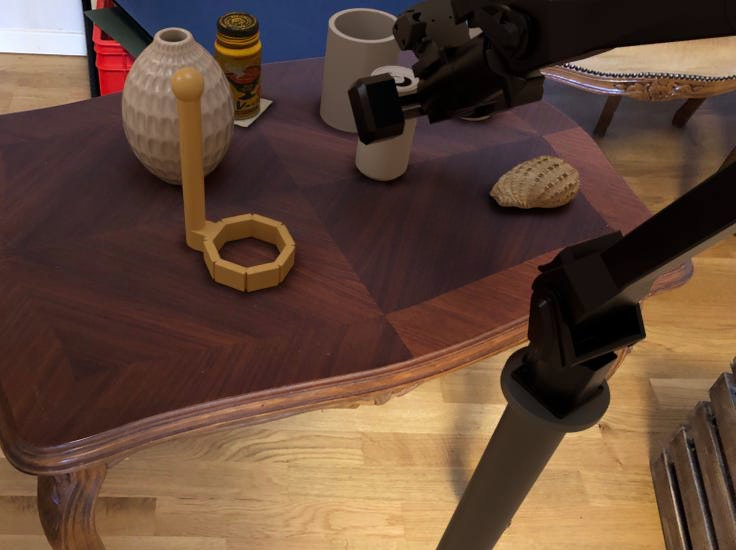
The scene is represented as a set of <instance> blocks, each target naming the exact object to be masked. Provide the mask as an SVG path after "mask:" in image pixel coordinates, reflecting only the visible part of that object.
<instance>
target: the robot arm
mask: <svg viewBox="0 0 736 550" xmlns="http://www.w3.org/2000/svg"><path fill="white" fill-rule="evenodd" d="M396 18H397V20H396V22H395V24H394V26H393V28H392V33H393V36H394V38H395V40H396V42H397V44H398V46H399V48H400V52H407V51H411V52H412V53H413V54H414V56H415V58H416V59H417V61H416V62H414V63H413V64H412V65H411V70H413V74H414V78H419V82H418V84H417V93H413V94H409V95H404V96H400V97H399V95H398V91H397V87H396V83H395V79H394V78H393V77H392V76H391V75H390V74H389V73H383V74H378V75H374V76H369V77H364V78H360V79H358V80H356V81H355V82H354V83H352V84H351V85H350V87H349V89H348V91H347V92H348V96H349V100H350V104H351V108H352V112H353V116H354V120H355V124H356V128H357V132H358V133H357V135H358V136H357V137H358V139H359V140H360V142H362V143H363V144H365V145H370V144H374V143H378V142H383V141H387V140H390V139H394V138H396V137H398V136H400V135H402V134H403V131H404V126H405V121H406V120H410V119H414V118H417V119H418V118H423V117H426V116H427V119H428V122H429V125H435V124H438V123H442V122H443V123H444V122H446V121H450V120H455V119H459V118H460V117H461V118H460V119H462V118H481V117H485V116H489V117H491V116H493V115H497V114H502V113H507V112H509V111H511V110H513V109H516V108H517V107H521V106H526V105H530V104H534V103H538V102H541V101H542V100H543V98H544V94H545V86H544V83H545V80H546V75H545V74H544V73H542V71H541V70H543V69H549V68H552V67H557V66H561V65H565V64H571V63H574V62H578V61H583V60H586V59H590V58H593V57H595V56H599V55H602V54H604V53H608V52H610V51H612V50H615V49H619V48H620V49H621V48H630V47H640V46H650V45H659V44H671V43H679V42H689V41H690V42H691V41H699V40H708V39H720V38H729V37H736V0H421V1H417V2H416V3H415V4H414V5H412V6H408V7H406V8H405V11H403V12H400V13H398V14H397V17H396ZM467 24H468V25H467ZM469 28H470V29H474V28H480V29H481V30H482V32H481V33H479V34H478V35H476V36H475V37H473V38H472V39H471V38H470V35H469ZM418 105H420V106H419V107H417V108H416V107H415V108H414V109H413V108H411V110H410V109H408V110H404V111H403V110H402V109H405V108H409V107H414V106H418ZM490 115H491V116H490ZM735 234H736V158H734V159H733V160H731V161H730V162H728V163H727V164H726V165H724V166H723V167H721V168H720V169H718V170H717V171H715V172H713V174H712V175H709V176H708V177H707V178H705V179H704V180H703V181H701V182H700V183H698V184H697V185H695V186H694V187H693V188H691V189H689V190H688V191H687V192H685V193H683V194H682V195H681V196H679V197H678V198H676V199H675V200H674V201H672V202H671V203H669V204H668V205H666V206H665V207H664V208H662V209H661V210H659V211H658V212H656V213H654V215H652V216H651V217H649V218H648V219H646V220H645V221H643V222H642V223H640V224H639V225H638V226H636V227H634V228H633V229H632V230H630V231H629V232H627V233H626V234H625V235H623V231H622V230H621V229H618V230H615V231H611V232H608V233H605V234H602V235H598V236H595V237H592V238H589V239H585V240H583V241H580V242H576V243H573V244H570V245H566V246H565V247H564V248H563V249H562V250H560V251H559V252H558V253H557V254H556V256H554V257H553V258H552V260H551V261H550V262H547V263H543V264H540V265H538V266H537V267H536V268H537V270H538V271H539V272H540V274H538V275H537V276H536V277H535V278H534V280H533V281H532V283H531V285H530V289H531V291H532V293H531V294H530V295H531V296H530V300H529V302H530V303H529V313H528V324H527V334H526V335H527V337H526V338H527V340H528V341H529V342H528V345H526V346H527V349H526V351H525V353H524V355H523V357H522V362H523V363H524V364H523V365H521V366H520V367H518V368H516V369H515V370H513V371H512V373H511V377H512V378H513V379H514V380H515V381H516V382H517V383H518V384H519V385H520V386H522V387H523V388H524V389H525V390H526V391H527V392H528V393H529V394H531V395H532V396H533V397H534V398H535V399H536V400H537V401H538V402H539V403H541V404H542V405H543V406H544V407H545V408H546V409H547V410H548V411H550V412H551V413H552V414H553V415H554V416H555V417H557V418H559V419H563V418H565V417H566V416H568V415H569V414H571V413H572V412H574V411H575V410H577V409H578V408H580V407H581V406H583V405H584V404H586V403H587V402H589V401H590V400H592V399H593V398H595V397H597V396H598V395H600V394H601V393H602V392H603V391H604V386H603V385H602V384H601V383H602V381H603V380H604V378H605V379H606V377H607V375H608V373H609V372H610V370H611V369H612V367H613V366H614V364H615V362H616V361H617V359H618V358H619V356H618V354H617V353H616V352H617V351H619V350H622V349H625V348H631V347H633V346H636V344H638V343H640V342H642V341H643V340H645V339H646V338H647V333H646V328H645V322H644V319H643V314H642V308H641V305H640V302H641V301H642V300H643V299H645V297H646V296H648V295H649V294H650V292H651V290H652V288H653V286H654V283H655V281H656V280H657V279H658V278H659V277H661V276H663V275H665V274H666V273H668V272H670V271H672V270H673V269H675V268H677V267H679V266H680V265H682V264H685V262H687V261H689V260H691V259H693V258H694V257H696V256H697V255H699V254H701V253H703V252H704V251H707V250H708V249H710V248H712V247H713V246H715V245H717V244H718V243H720V242H722V241H724V240H726V239H728V238H730V237H731V236H732V235H735ZM515 374H517V375H518V376H517V375H515ZM598 388H599V389H598ZM558 412H559V413H561V414H559V413H558Z"/></svg>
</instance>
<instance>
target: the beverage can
mask: <svg viewBox="0 0 736 550" xmlns="http://www.w3.org/2000/svg"><path fill="white" fill-rule="evenodd" d="M383 73H389V74H390V75H391V76H392V77H393V78H394V79H395V83H396V87H397V91H398V95H399V97H400V96H404V95H409V94H413V93H417V84H418V82H419V78H414V74H413V70H412V68H408V67H406V66H401V65H397V66H384V67H380V68H378V69H376V70H374V71H373V72H372V74H371V76H374V75H378V74H383ZM419 106H420V105H418V106H414V107H409V108H405V109H402V110H403V111H404V110H408V109H410V110H411V108H413V109H414V108H415V107H416V108H417V107H419ZM420 107H421V106H420ZM417 122H418V118H414V119H410V120H406V121H405V126H404V131H403V134H402V135H400V136H398V137H396V138H394V139H390V140H387V141H383V142H378V143H374V144H370V145H365V144H363V143H362V142H360V140H359V138H358V140H357V146H356V153H355V161H354V162H355V166H356V168H357V169H358V170H359V172H360V173H361V174H363V175H364V176H365V177H367V178H369V179H372V180H375V181H381V182H387V181H391V180H395V179H397V178H398V177H400V176H402V175H403V174H405V172H406V171H407V169H408V165H409V159H410V155H411V150H412V145H413V141H414V137H415V131H416V126H417Z"/></svg>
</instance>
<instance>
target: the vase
mask: <svg viewBox="0 0 736 550" xmlns="http://www.w3.org/2000/svg"><path fill="white" fill-rule="evenodd" d="M185 67H189V68H193V69H195V70H197V71H198V72H199V73H200V74H201V76H202V77H203V80H204V91H203V94H202V96H201V121H202V145H203V170H204V179H205V178H206V177H207V176H209V175H210V174H211V173H212V172H213V171H214V170H216V168H217V167H218V166H219V164H220V163H221V162H222V160H223V159H224V157H225V155H226V154H227V151H228V149H229V148H230V145H231V141H232V139H233V135H234V130H235V124H234V122H235V113H234V101H233V94H232V91H231V88H230V85H229V82H228V80H227V78H226V76H225V74H224V72H223V70H222V69H221V67H220V65H219V64H218V62H217V61H216V60H215V59H214V56H213V55H212V54H211V53H210V52H209V51H208V50H207V49H206V48H205V47H204V46H203V45H201V44H199V42H197V41H196V40H195V39H194V36H193V34H192V33H191V31H190V30H187V29H186V28H181V27H167V28H163V29H161V30H159V31H157V32H155V34H154V37H153V40H152V42H151V43H150V44H149V45H148V46H146V47H145V48H144V49H143V50H142V51H141V53H140V54H139V55H138V56H137V57H136V59H135V61H134V62H133V63H132V65H131V67H130V69H129V71H128V74H127V76H126V78H125V82H124V84H123V89H122V95H121V119H122V125H123V130H124V134H125V137H126V139H127V142H128V144H129V147H130V149H131V151H132V152H133V154H134V155H135V156H136V158H137V160H138V161H139V162H140V163H141V164H142V165H143V167H144V168H145V169H146V170H147V171H149V172H150V173H151V174H152V175H154V176H155V177H157V178H158V179H159V180H161V181H163V182H165V183H167V184H170V185H174V186H183V184H182V169H181V155H180V140H179V126H178V111H177V98H176V96H175V95H174V93H173V91H172V87H171V82H172V78H173V76H174V74H175V73H176V72H177V71H178V70H179V69H182V68H185Z"/></svg>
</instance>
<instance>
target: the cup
mask: <svg viewBox="0 0 736 550" xmlns="http://www.w3.org/2000/svg"><path fill="white" fill-rule="evenodd" d="M397 18H398V17H396V16H395V15H393V14H390V13H389V12H385V11H382V10H379V9H375V8H374V9H373V8H365V7H358V8H357V7H356V8H348V9H344V10H340V11H338V12H336V13H334V14H333V15H332V16H331V17H330V18H329V20H328V26H327V36H326V47H325V55H324V56H325V57H324V66H323V75H322V84H321V85H322V87H321V96H320V106H319V116H320V118H321V119H322V121H323V122H324V123H325V124H326V125H327V126H330V127H331V128H333V129H336V130H339V131H342V132H345V133H346V132H347V133H353V134H354V133H355V134H358V132H357V128H356V124H355V120H354V116H353V112H352V108H351V104H350V100H349V96H348V92H347V91H348V89H349V87H350V85H351V84H352V83H354V82H355V81H356V80H358V79H360V78H364V77H369V76H371V74H372V72H373V71H374V70H376V69H378V68H380V67H384V66H398V61H399V56H400V52H401V50H400V48H399V46H398V44H397V42H396V40H395V38H394V36H393V33H392V28H393V26H394V24H395V22H396V20H397Z"/></svg>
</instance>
